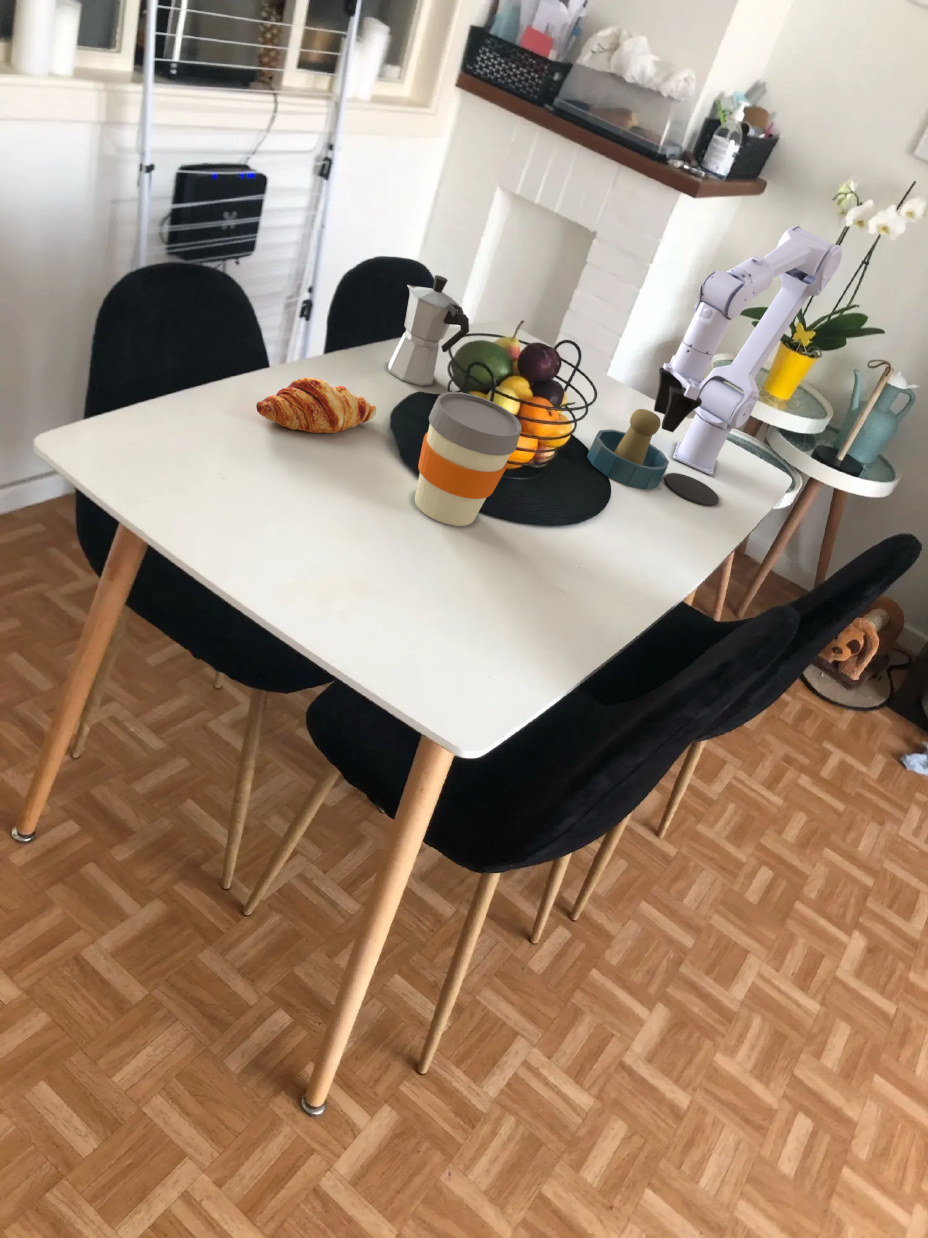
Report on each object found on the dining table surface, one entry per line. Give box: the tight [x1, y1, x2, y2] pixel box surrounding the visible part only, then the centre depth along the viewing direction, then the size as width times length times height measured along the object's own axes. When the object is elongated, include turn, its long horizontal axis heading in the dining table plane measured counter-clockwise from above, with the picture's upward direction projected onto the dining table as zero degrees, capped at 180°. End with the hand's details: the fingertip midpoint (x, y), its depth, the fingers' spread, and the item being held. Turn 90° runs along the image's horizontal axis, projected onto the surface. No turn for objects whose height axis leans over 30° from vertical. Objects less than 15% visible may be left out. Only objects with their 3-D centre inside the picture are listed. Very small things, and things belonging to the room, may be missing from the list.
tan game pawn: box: [614, 408, 662, 465], centre depth 174 cm, size 6×6×11 cm
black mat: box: [663, 472, 720, 507], centre depth 179 cm, size 10×10×1 cm
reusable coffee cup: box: [414, 391, 523, 527], centre depth 138 cm, size 12×12×15 cm
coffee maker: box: [387, 274, 470, 387], centre depth 175 cm, size 15×9×18 cm, turn 50°
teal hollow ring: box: [586, 428, 670, 490], centre depth 176 cm, size 13×13×4 cm
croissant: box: [256, 377, 377, 434], centre depth 150 cm, size 21×10×8 cm, turn 130°
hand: (663, 420), depth 172 cm, fingers open, 7 cm apart
